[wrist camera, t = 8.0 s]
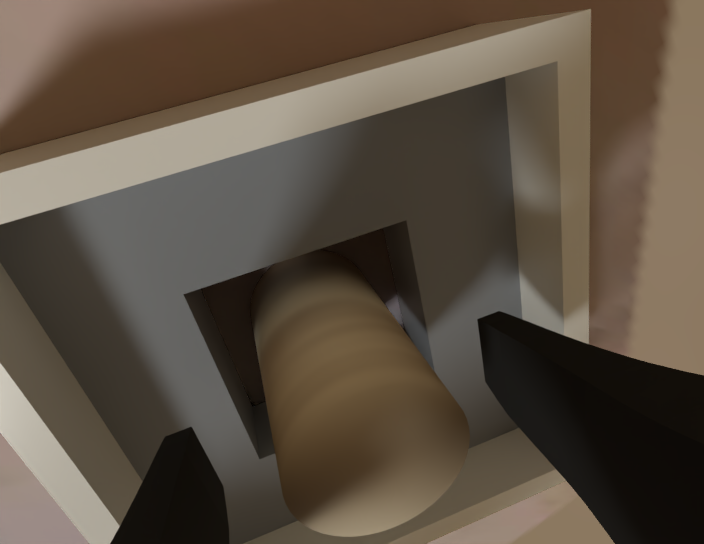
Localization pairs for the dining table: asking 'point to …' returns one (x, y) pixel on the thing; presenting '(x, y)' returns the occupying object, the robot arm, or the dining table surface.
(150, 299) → the box
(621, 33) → the dining table surface
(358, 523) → the peg
